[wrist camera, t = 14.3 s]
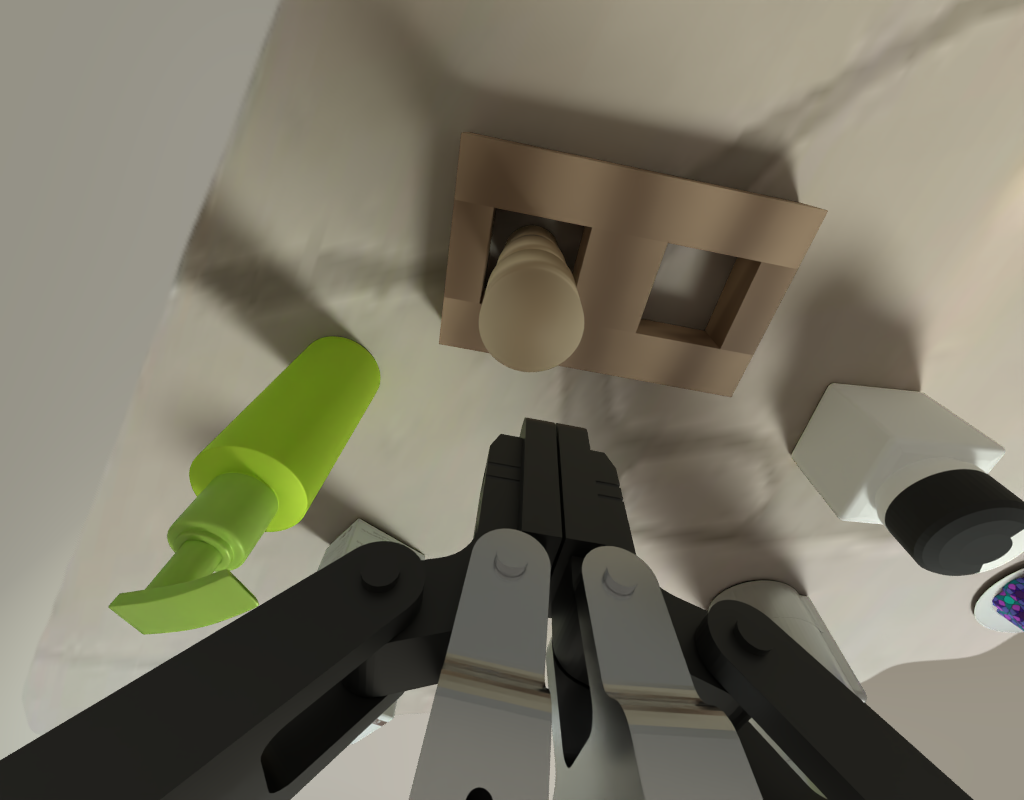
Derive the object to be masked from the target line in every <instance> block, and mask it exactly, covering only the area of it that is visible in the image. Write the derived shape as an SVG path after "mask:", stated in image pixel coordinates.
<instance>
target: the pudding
mask: <svg viewBox="0 0 1024 800" xmlns="http://www.w3.org/2000/svg"><path fill="white" fill-rule="evenodd" d="M1023 574H1024V569H1021V570H1019V571H1017V572H1014V573H1012V574H1010V575H1008V576H1006V577H1005V578H1003V579H1002V580H1000V581H998V582H997V583H995V584H994V585H993V586H991V587H990V588H989V589H988V590H987V591H986V592H985V593H984V594H983V595H982V596H981V597H980V599H979V600H978V601H977V603H976V606H975V609H974V615H975V618H976V620H977V621H978V622H979V623H980V624H981V625H982V626H984V627H986V628H988V629H991V630H995V631H1000V632H1024V577H1023V578H1018V579H1014V578H1017V577H1019V576H1021V575H1023ZM1013 579H1014V580H1013ZM1011 580H1012V581H1011ZM1009 581H1011V582H1009ZM1008 582H1009V583H1008ZM1006 583H1007V584H1006ZM1005 584H1006V585H1005ZM1004 585H1005V586H1004ZM1002 586H1004V587H1003V592H1002V593H1000V594H998V595H997V596H995V597H994V599H993V596H994V595H995V594H996V592H997V591H998V590H999V589H1000V588H1001V587H1002ZM992 599H993V600H992ZM991 602H993V605H994V606H996V607H997V608H998V609H997V612H998V613H999V614H1000V615H999V614H998V613H996V612H995V611H994V610H993V609H992V606H991Z"/></svg>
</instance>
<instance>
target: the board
mask: <svg viewBox="0 0 1024 800" xmlns="http://www.w3.org/2000/svg"><path fill="white" fill-rule="evenodd" d="M496 208H499V209H504V210H508V211H513V212H518V213H523V214H528V215H533V216H538V217H543V218H548V219H553V220H558V221H563V222H568V223H572V224H577V225H582V226H585V227H584V231H583V235H582V238H581V242H580V246H579V250H578V254H577V258H576V262H575V266H574V270H573V274H572V275H573V277H574V280H575V284H576V287H577V291H578V294H579V298H580V302H581V305H582V309H583V313H584V331H583V335H582V338H581V341H580V343H579V345H578V347H577V348H576V350H575V351H574V352H573V353H572V355H571V356H570V357H569V358H567V359H566V360H565V361H564V362H562V363H561V364H559V365H558V366H563V367H569V368H574V369H580V370H585V371H591V372H596V373H602V374H607V375H613V376H618V377H624V378H629V379H635V380H640V381H646V382H651V383H657V384H662V385H668V386H673V387H679V388H684V389H690V390H695V391H701V392H706V393H712V394H717V395H723V396H728V397H732V395H733V393H734V391H735V389H736V387H737V385H738V383H739V381H740V379H741V378H742V376H743V374H744V372H745V370H746V368H747V366H748V364H749V362H750V360H751V358H752V356H753V354H754V352H755V351H756V349H757V347H758V345H759V343H760V341H761V339H762V337H763V335H764V333H765V331H766V329H767V327H768V326H769V324H770V322H771V320H772V318H773V316H774V314H775V312H776V310H777V308H778V306H779V304H780V302H781V301H782V299H783V297H784V295H785V293H786V291H787V289H788V287H789V285H790V283H791V281H792V279H793V277H794V276H795V274H796V272H797V270H798V268H799V266H800V264H801V262H802V260H803V258H804V256H805V254H806V252H807V251H808V249H809V247H810V245H811V243H812V241H813V239H814V237H815V235H816V233H817V231H818V229H819V227H820V225H821V224H822V222H823V220H824V218H825V216H826V214H827V212H828V211H827V210H824V209H820V208H817V207H813V206H810V205H806V204H803V203H799V202H795V201H790V200H785V199H780V198H776V197H771V196H766V195H762V194H757V193H752V192H748V191H743V190H738V189H734V188H729V187H724V186H719V185H715V184H710V183H705V182H701V181H696V180H691V179H687V178H682V177H677V176H673V175H668V174H663V173H658V172H654V171H649V170H644V169H640V168H635V167H630V166H626V165H621V164H616V163H612V162H607V161H602V160H597V159H593V158H588V157H583V156H579V155H574V154H569V153H565V152H560V151H555V150H551V149H546V148H541V147H536V146H532V145H527V144H522V143H518V142H513V141H508V140H504V139H499V138H494V137H490V136H485V135H480V134H475V133H471V132H463V133H461V140H460V150H459V159H458V168H457V178H456V187H455V197H454V206H453V216H452V225H451V235H450V244H449V254H448V263H447V273H446V282H445V291H444V301H443V310H442V320H441V329H440V339H439V344H442V345H448V346H453V347H459V348H464V349H470V350H475V351H481V352H486V353H489V352H488V350H487V349H486V347H485V345H484V343H483V341H482V339H481V336H480V331H479V314H480V310H481V306H482V302H483V299H484V295H485V291H486V289H484V284H485V277H486V270H487V264H488V257H489V251H490V244H491V238H492V231H493V225H494V218H495V212H496ZM668 243H671V244H676V245H681V246H686V247H691V248H696V249H701V250H705V251H710V252H715V253H720V254H725V255H730V256H735V257H737V259H736V261H735V264H734V266H733V268H732V271H731V273H730V275H729V277H728V280H727V282H726V284H725V286H724V289H723V291H722V293H721V295H720V298H719V300H718V302H717V304H716V307H715V309H714V311H713V313H712V316H711V318H710V320H709V323H708V325H707V327H706V329H705V331H703V330H698V329H693V328H687V327H682V326H677V325H672V324H666V323H661V322H656V321H651V320H646V319H641V317H642V314H643V311H644V309H645V306H646V303H647V300H648V297H649V295H650V292H651V289H652V286H653V283H654V281H655V278H656V275H657V272H658V269H659V266H660V264H661V261H662V258H663V255H664V252H665V250H666V247H667V244H668Z"/></svg>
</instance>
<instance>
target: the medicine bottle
mask: <svg viewBox="0 0 1024 800" xmlns="http://www.w3.org/2000/svg"><path fill="white" fill-rule="evenodd" d="M1004 454H1005V449H1004V448H1003V447H1002V446H1001V445H999V444H998V443H997V442H995V441H994V440H992V439H991V438H989V437H988V436H986V435H985V434H983V433H982V432H980V431H979V430H977V429H976V428H974V427H973V426H972V425H970V424H969V423H967V422H966V421H964V420H963V419H961V418H960V417H958V416H957V415H955V414H954V413H952V412H951V411H950V410H948V409H947V408H945V407H944V406H942V405H941V404H939V403H938V402H936V401H935V400H933V399H932V398H930V397H929V396H928V395H926V394H925V393H922V392H917V391H907V390H898V389H888V388H878V387H868V386H858V385H849V384H839V383H832V384H830V385H829V386H828V387H827V389H826V391H825V393H824V395H823V397H822V399H821V400H820V402H819V404H818V406H817V408H816V410H815V412H814V413H813V415H812V417H811V419H810V421H809V423H808V425H807V426H806V428H805V430H804V432H803V434H802V436H801V438H800V439H799V441H798V443H797V445H796V447H795V449H794V451H793V452H792V454H791V457H792V459H793V460H794V462H795V463H796V464H797V466H798V467H799V468H800V469H801V471H802V472H803V473H804V474H805V476H806V477H807V478H808V480H809V481H810V482H811V483H812V485H813V486H814V487H815V489H816V490H817V491H818V492H819V494H820V495H821V496H822V497H823V499H824V500H825V501H826V503H827V504H828V505H829V506H830V508H831V509H832V510H833V512H834V513H835V514H836V515H837V517H838V518H839V519H841V520H843V521H854V522H864V523H874V524H883V525H884V526H885V527H886V528H887V529H888V531H889V532H890V533H891V534H892V535H893V536H894V537H895V539H896V540H897V541H898V542H899V543H900V544H901V545H902V546H903V548H904V549H905V550H906V551H907V552H908V553H909V554H910V556H911V557H912V558H913V559H914V560H915V561H916V562H917V563H918V565H920V566H921V567H922V568H924V569H926V570H928V571H931V572H934V573H938V574H942V575H949V576H962V575H971V574H976V573H981V572H984V571H987V570H991V569H994V568H996V567H999V566H1001V565H1003V564H1005V563H1007V562H1009V561H1011V560H1012V559H1014V558H1015V557H1017V556H1018V555H1020V554H1021V553H1022V552H1024V501H1022V500H1021V499H1020V498H1018V497H1017V496H1016V495H1014V494H1013V493H1012V492H1011V491H1009V490H1008V489H1007V488H1005V487H1004V486H1003V485H1001V484H1000V483H999V482H997V481H996V480H995V479H994V478H992V477H991V476H990V475H988V473H989V472H990V470H991V469H992V468H993V467H994V466H995V465H996V463H997V462H998V461H999V460H1000V459H1001V458H1002V456H1003V455H1004Z"/></svg>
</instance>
